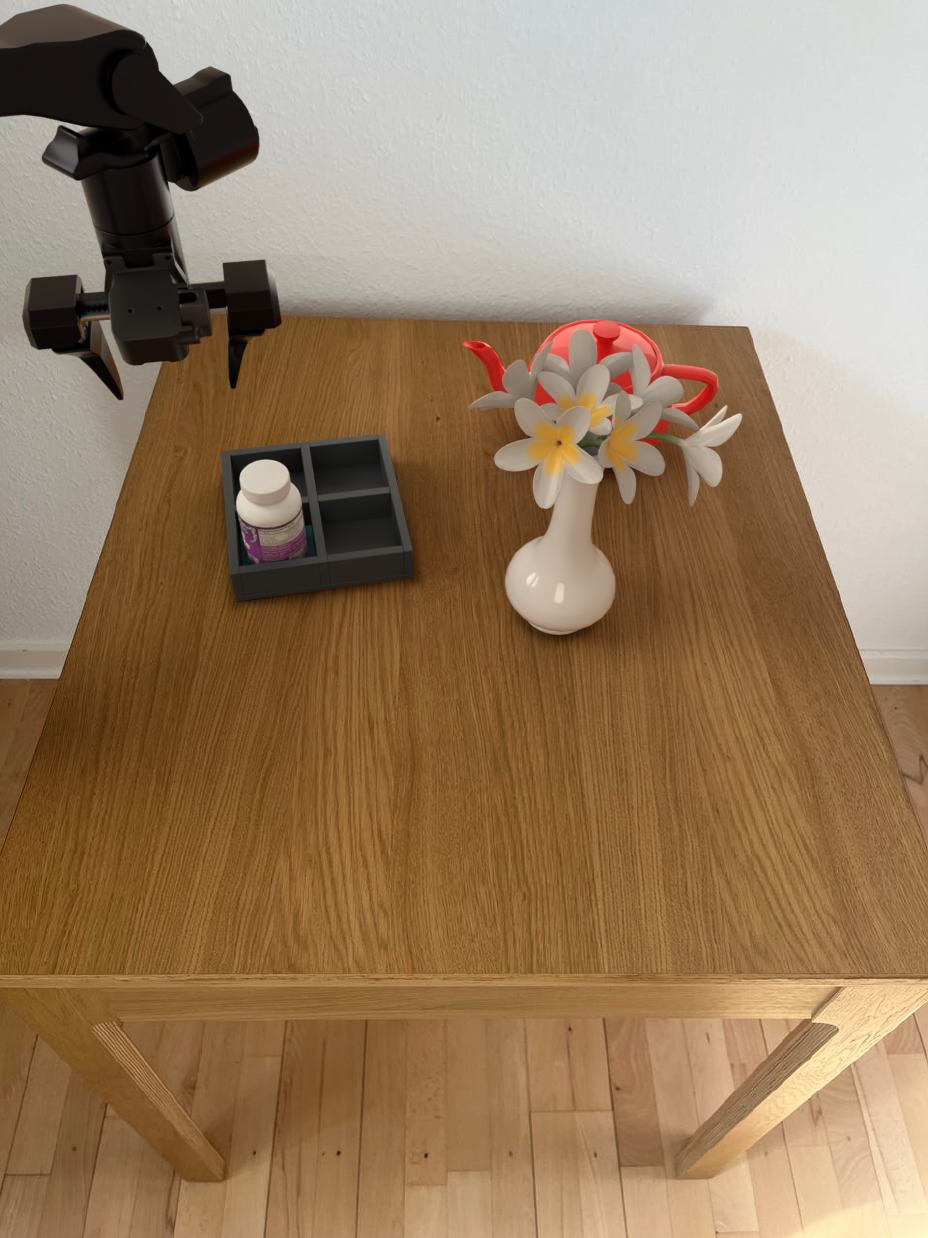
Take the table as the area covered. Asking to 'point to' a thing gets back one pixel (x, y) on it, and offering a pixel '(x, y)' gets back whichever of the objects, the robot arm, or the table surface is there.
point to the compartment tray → (326, 518)
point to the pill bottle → (270, 514)
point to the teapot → (608, 342)
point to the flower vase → (588, 468)
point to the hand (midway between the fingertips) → (177, 391)
